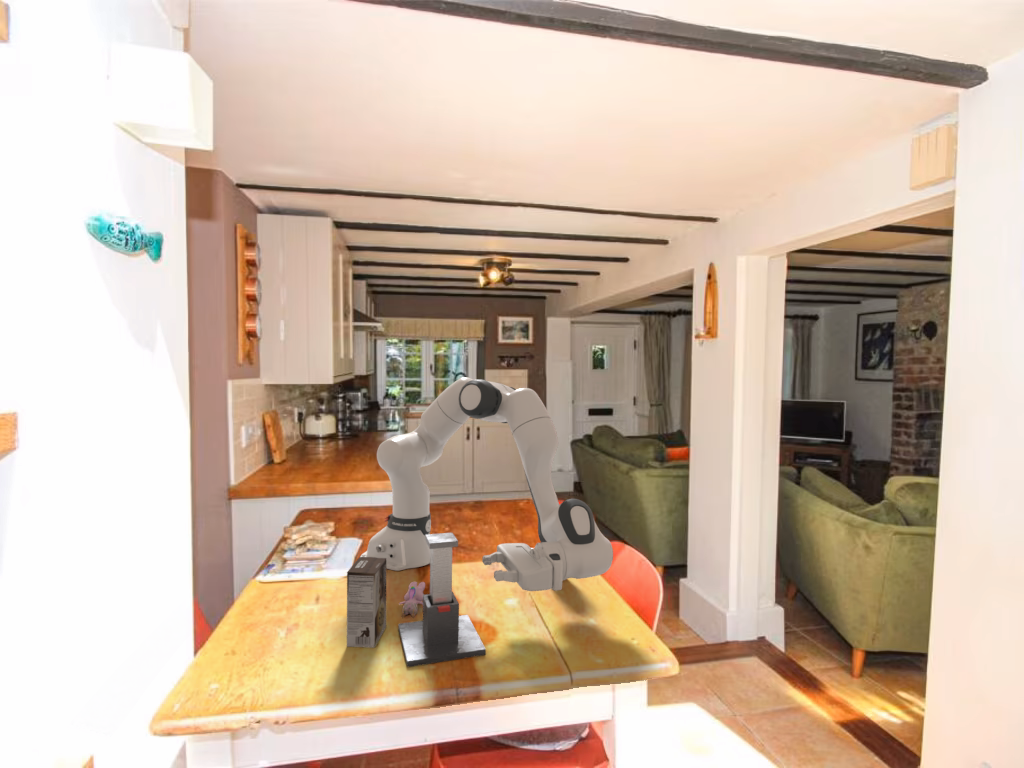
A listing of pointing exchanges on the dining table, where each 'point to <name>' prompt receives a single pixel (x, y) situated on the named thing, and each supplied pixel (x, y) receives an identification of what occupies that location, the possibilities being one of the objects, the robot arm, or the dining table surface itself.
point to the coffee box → (366, 602)
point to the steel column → (441, 567)
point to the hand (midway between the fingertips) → (488, 568)
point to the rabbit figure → (413, 598)
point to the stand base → (439, 635)
